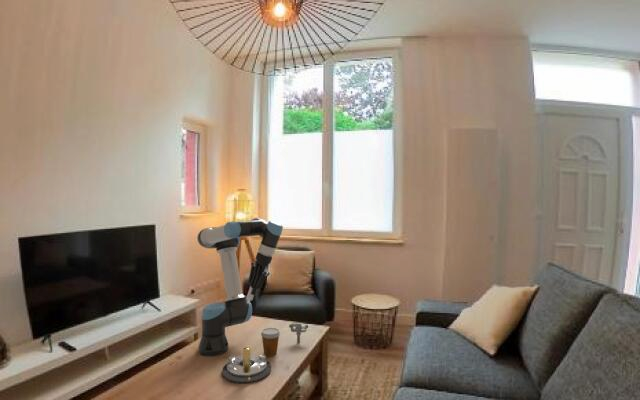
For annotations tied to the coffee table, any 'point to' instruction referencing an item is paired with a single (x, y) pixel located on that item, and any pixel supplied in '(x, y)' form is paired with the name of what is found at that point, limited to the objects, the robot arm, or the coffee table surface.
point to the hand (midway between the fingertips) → (249, 299)
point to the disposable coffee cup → (270, 341)
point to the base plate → (246, 379)
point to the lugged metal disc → (246, 364)
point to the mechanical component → (298, 330)
